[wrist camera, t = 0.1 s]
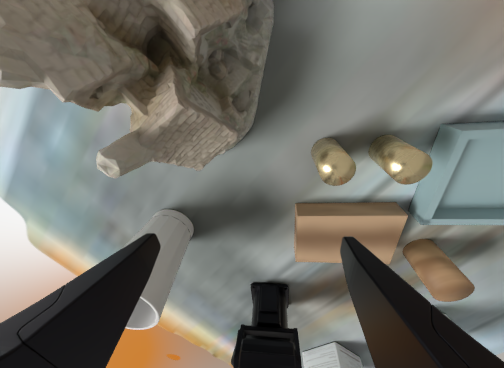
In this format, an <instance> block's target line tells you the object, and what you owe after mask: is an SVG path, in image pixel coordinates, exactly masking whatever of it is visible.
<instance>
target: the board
mask: <svg viewBox="0 0 504 368" xmlns="http://www.w3.org/2000/svg"><path fill="white" fill-rule="evenodd" d="M407 217H408V215H407V214H406V213H405V212H404V211H403V209H402V208H401V207H400V206H399V205H398V204H397V203H396V202H372V203H296V204H295V239H294V250H295V258H296V262H329V263H342V259H341V255H340V248H341V243H342V238H343V237H344V236H352V237H354V238H355V239H357V240H358V241H359V242H360V243H361V244H362V245H364V246H365V247H366V248H367V249H368V250H369V251H371V252H372V253H373V254H374V255H375V256H376V257H378V258H379V259H380V260H381V261H382V262H383V263H385V264H390V262H391V259H392V256H393V254H394V251H395V249H396V246H397V243H398V241H399V238H400V236H401V233H402V230H403V228H404V225H405V223H406V220H407Z"/></svg>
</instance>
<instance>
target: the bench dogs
mask: <svg viewBox="0 0 504 368" xmlns="http://www.w3.org/2000/svg"><path fill="white" fill-rule="evenodd" d="M368 153H369V156H370V158H371V159H372V160H373V161H374V162H375V163H377V164H378V165H379V166H380V167H381V168H382V169H383V170H384V171H385V172H386V173H387V174H389V175H390V176H391V177H392V178H393V179H394V180H395V181H396V182H398V183H400V184H413V183H416V182H418V181H420V180H422V179H423V178H424V177H426V176H427V175H428V173H429V172H430V171H431V168H432V164H433V162H432V159H431V157H430V156H429V155H428V154H426V153H424V152H422V151H420V150H419V149H417V148H415V147H413V146H411V145H410V144H408V143H406V142H404V141H402V140H400V139H399V138H397V137H395V136H393V135H383V136H380V137H378V138H377V139H375V140H374V141H373V142H372V144H371V145H370V147H369V151H368ZM311 155H312V158H313V160H314V162H315V165H316V167H317V169H318V172H319V174H320V176H321V178H322V180H323V181H324V182H325V183H326V184H329V185H332V186H338V185H342V184H345V183H347V182H348V181H349V180H351V178H352V177H353V176H354V174H355V171H356V165H355V162H354V161H353V160H352V158H351V157H350V156H349V155H348V154H347V153H346V152H345V150H344V149H343V148H342V147H341V146H340V145H339V144H338V142H337V141H336V140H334V139H332V138H323V139H320V140H318V141H317V142H316V143H315V144H314V145H313V147H312V150H311Z"/></svg>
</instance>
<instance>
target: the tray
mask: <svg viewBox="0 0 504 368" xmlns="http://www.w3.org/2000/svg"><path fill="white" fill-rule="evenodd" d="M429 156H430V157H431V159H432V162H433V164H432V168H431V171H430V172H429V173H428V175H427V176H426V177H424V178H423V179H422V180H420V181H419V184H418V186H417V189H416V192H415V194H414V197H413V200H412V202H411V205H410V207H409V210H408V212H409V213H410V214H411V215H412V216H413V217H414V218H415V219H416V220H417V221H418V222H419V223H420V224H421V225H504V121H493V122H474V123H455V124H441V126H440V129H439V131H438V134H437V137H436V139H435V142H434V145H433V147H432V150H431V152H430V155H429Z"/></svg>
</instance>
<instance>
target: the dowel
mask: <svg viewBox="0 0 504 368" xmlns="http://www.w3.org/2000/svg"><path fill="white" fill-rule="evenodd" d="M403 255H404V256H405V258H406V259H407V260H408V262H409V263H410V265H411V266H412V268H413V269H414V270H415V272H416V273H417V275H418V276H419V278H420V279H421V280H422V282H423V283H424V285H425V286H426V288H427V289H428V290H429V292H430V293H431V295H432V296H433V297H434V298H435V299H436V300H439V301H445V302H451V301H457V300H461V299H463V298H466V297H468V296H469V295H470V294H472V293H473V291H474V285H473V284H472V283H471V282H470V280H469V279H468V278H467V277H466V276H465V275H464V274H463V273H462V272H461V271H460V270H459V269H458V268H457V266H456V265H455V264H454V263H453V262H452V261H451V260H450V259H449V258H448V257H447V256H446V255H445V254H444V252H443V251H442V250H441V249H440V248H439V247H438V246H437V245H436V244H435V243H434V242H433V241H431V240H428V239H419V240H415V241H412V242H410V243H409V244H407V245H406V246H405V247H404V249H403Z"/></svg>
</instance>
